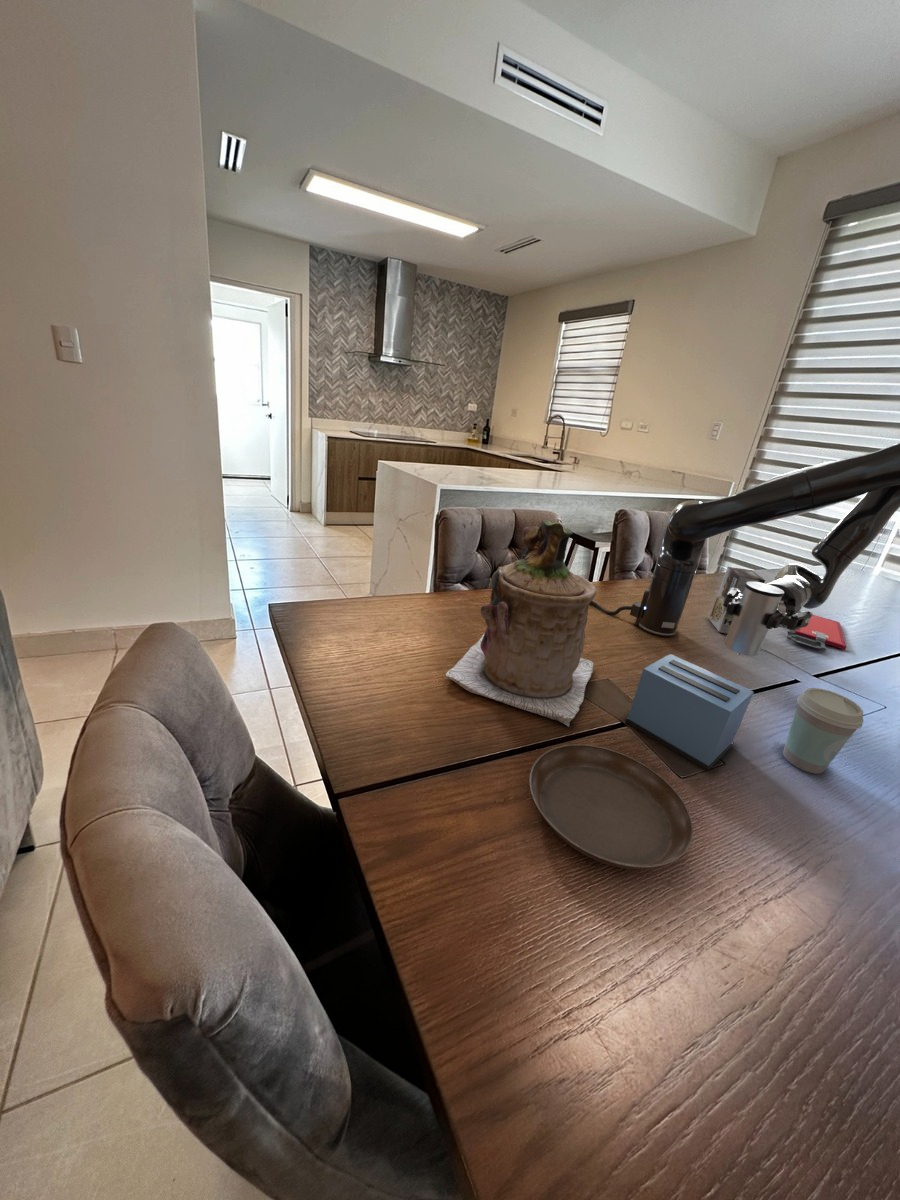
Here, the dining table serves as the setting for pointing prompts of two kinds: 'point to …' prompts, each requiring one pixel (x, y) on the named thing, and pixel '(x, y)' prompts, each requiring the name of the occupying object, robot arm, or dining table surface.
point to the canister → (753, 618)
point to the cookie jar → (533, 632)
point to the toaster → (688, 709)
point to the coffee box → (731, 580)
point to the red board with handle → (819, 633)
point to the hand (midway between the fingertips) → (750, 616)
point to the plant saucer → (610, 807)
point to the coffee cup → (820, 729)
